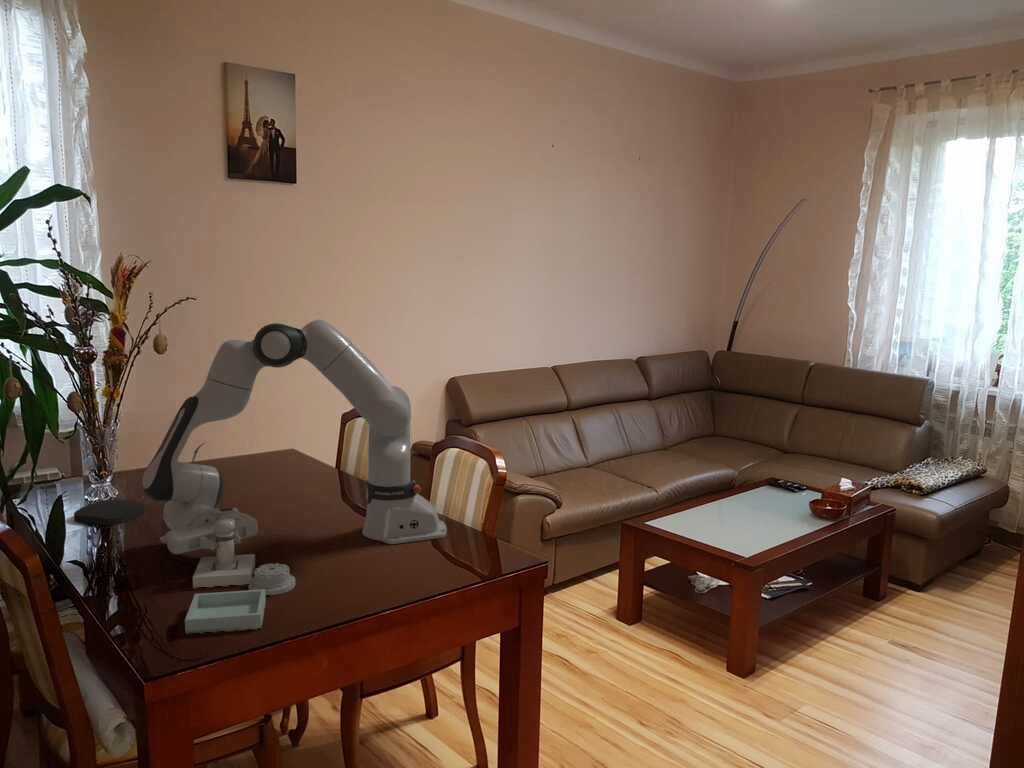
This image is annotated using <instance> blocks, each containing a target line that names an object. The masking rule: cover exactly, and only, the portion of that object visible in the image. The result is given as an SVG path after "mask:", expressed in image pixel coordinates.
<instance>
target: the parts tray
mask: <svg viewBox="0 0 1024 768" xmlns="http://www.w3.org/2000/svg"><path fill="white" fill-rule="evenodd" d="M266 599H267V598H266V592H265V589H261V590H249V589H248V590H236V591H235V590H234V591H233V590H232V591H219V592H205V593H194V596H193V598H192V601H191V603H190V606H189V609H188V611H187V613H186V617H185V619H184V629H185V630H184V631H185V632H184V633H185V634H187V635H190V634H189V633H200V634H205V633H204V632H213V633H220V632H219V631H225V632H235V631H236V630H238V631H246V630H247V629H251V630H259V629H258V628H261V629H262V627H261V626H263V619H264V614H265V610H264V609H265V608H266V604H265V603H266ZM217 631H218V632H217ZM247 631H248V630H247ZM236 632H237V631H236Z"/></svg>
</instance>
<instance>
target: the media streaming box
mask: <svg viewBox="0 0 1024 768" xmlns="http://www.w3.org/2000/svg"><path fill="white" fill-rule="evenodd" d="M143 512H144V513H145V504H144V503H142V502H140V501H136V500H130V499H111V500H110V499H109V500H103V501H97V502H92V503H89V504H87V505H85V506H82V507H81V508H79V509H76V511H74V513H73V516H74V517H73V520H74V522H75V523H77V524H86V525H94V526H95V525H96V526H106V525H108V526H116V525H115V524H117V525H120V524H119V523H121V524H123V523H122V522H124V521H126V522H128V521H130V520H132V519H131V518H133V517H135V516H137V515H139V514H141V513H143ZM144 513H143V514H144ZM141 515H142V514H141ZM139 516H140V515H139ZM137 517H138V516H137ZM135 518H136V517H135ZM129 519H130V520H129ZM133 519H134V518H133ZM127 520H128V521H127ZM124 523H125V522H124Z"/></svg>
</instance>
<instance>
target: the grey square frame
mask: <svg viewBox="0 0 1024 768" xmlns="http://www.w3.org/2000/svg"><path fill="white" fill-rule="evenodd" d="M234 555H235V561H236V569H234V570H218V571H216V563H217V555H215V556H202V557H200V559H199V561H198V564H197V566H196V569H195V570H194V571H195V572H194V573H193V576H192V589H199V588H198V587H207V588H215V587H214V586H222V587H230V586H229V585H237V586H248V585H247V584H249V581H250V580H251V579H253V576H254V571H255V567H256V554H255V553H252V554H234ZM252 575H253V576H252ZM244 584H245V585H244ZM196 587H197V588H196Z"/></svg>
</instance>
